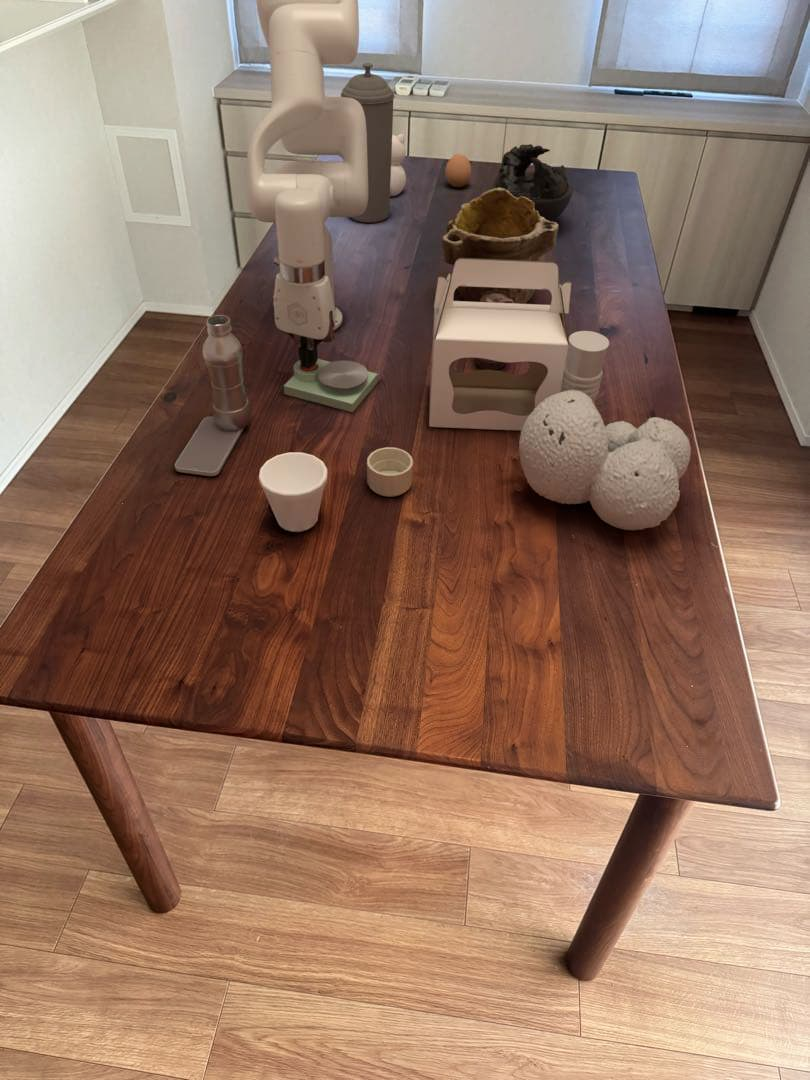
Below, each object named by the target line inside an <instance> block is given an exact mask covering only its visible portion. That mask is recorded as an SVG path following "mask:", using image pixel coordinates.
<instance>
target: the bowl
mask: <svg viewBox="0 0 810 1080" xmlns="http://www.w3.org/2000/svg"><path fill="white" fill-rule="evenodd" d="M413 466H414V459H413V457H412V455H411V454H410V453H409V452H407V451H405V450H404V449H402V448H399V447H390V446H387V447H381V448H377V449H376V450H374V451H372V452H371V453H369V455H368V457H367V459H366V473H367V474H366V484H367V485H368V487H369V489H370V490H372V492H374V494H375V493H376V494H377V495H379V496H382V497H392V498H393V497H398V496H401V495H403V494H404V493H406V492H407V491H409V490H410V488H411V487H412V485H413V469H414V467H413Z"/></svg>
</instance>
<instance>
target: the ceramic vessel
mask: <svg viewBox="0 0 810 1080" xmlns="http://www.w3.org/2000/svg"><path fill="white" fill-rule="evenodd" d="M534 204H535V203H534V202H533V201H531V200H529V199H528V198H525V197H520V198H516V197H514V196H513V195H512V194H511V193H509V191H508V190H506V189H504V188H494V189H493V188H492V189H489V190H486V191H484V192H483V193H481V194H480V195H479V196H478V197H475V198H473V199H471V200H470V201H469V202H466V203H462V204H461V205H460V207H459V211H458V212H457V214H456V216H455V218H454V219H451V220H449V221H448V222H447V225H446V234H443V236H441V246H442V253H443V258H444V262H445V263H446V264H448V265H452V266H454V264H455V261H456V260H457V259H459V258H476V259H501V260H525V261H540V258H541V257H542V256H543V255H545V254H547V253H549V252H551V251H553V250H554V249H555V247H556V244H557V236H558V231H559V224H558V223H557V222H556V221H553V222H550V221H548V220H545V218H543V217H542V216H540V215H539V213H538V211H535V208H534ZM456 289H457V291H458V293H459V294H460V296H461V297H462V298H463V299H464V301H465V302H480V300H481V298H482V297H483V295H484V294H485V293H486V292H489V291H502V292H505V293H508V294H509V295H510V296H511V297H512V300H513V302H514V304H527V302H528V301H530V299H531V298H532V296H533V295H534V292H535V290H536V289H521V288H496V287H472V286H465V287H462V286H459V287H457V288H456Z"/></svg>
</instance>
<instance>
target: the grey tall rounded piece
mask: <svg viewBox="0 0 810 1080" xmlns="http://www.w3.org/2000/svg"><path fill="white" fill-rule="evenodd" d="M232 331H233V329H232V325H231V319H230V317H229V316H227V315H226V314H225V315H224V314H215V315H211V316H210V317H207V319H206V332H207V334H208V336H207V338H206V339H205V341H204V343H203V345H202V351H201V352H202V357H203V360H204V363H205V366H206V369H207V372H208V376H209V381H210V384H211V391H212V393H211V394H212V417H214V420H215V423H216V424H217V425H218V426H219V427H220V428H221V429H223V430H226V431H237V430H240V429H243V428H244V429H245V428H246V427H247V426H248V425H249V423H250V422H251V419H252V408H251V405H250V401H249V399H248V396H247V392H246V388H245V385H244V374H243V373H244V372H243V371H244V370H243V355H244V354H243V346H242V344H241V342H240V341H239V339H238V338H237V337H236V336H235V335H234V334H233V333H232ZM244 429H243V430H244Z"/></svg>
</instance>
